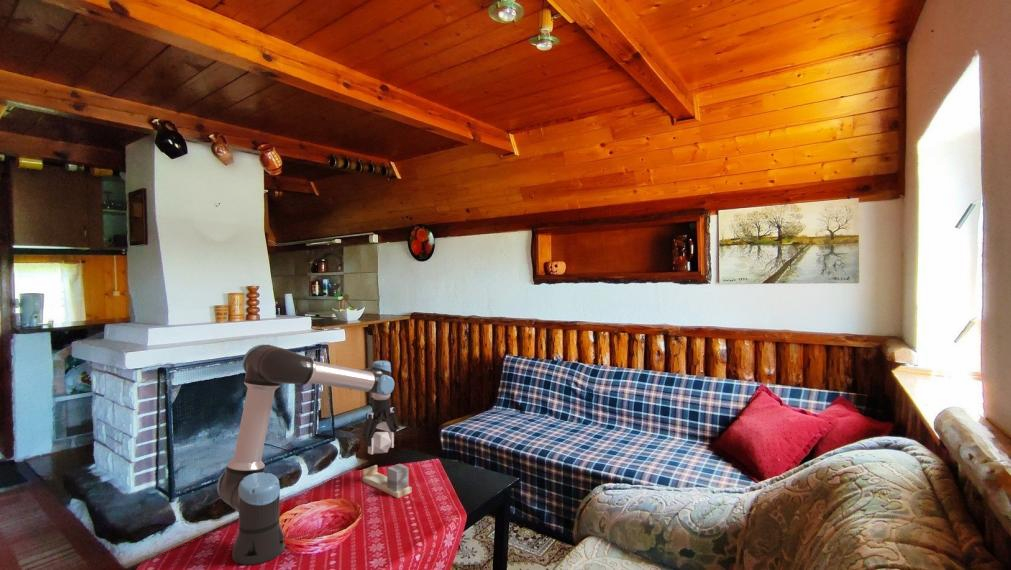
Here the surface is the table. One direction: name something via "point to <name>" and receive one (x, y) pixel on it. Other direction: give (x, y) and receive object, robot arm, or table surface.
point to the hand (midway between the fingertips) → (380, 450)
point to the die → (381, 442)
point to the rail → (389, 480)
